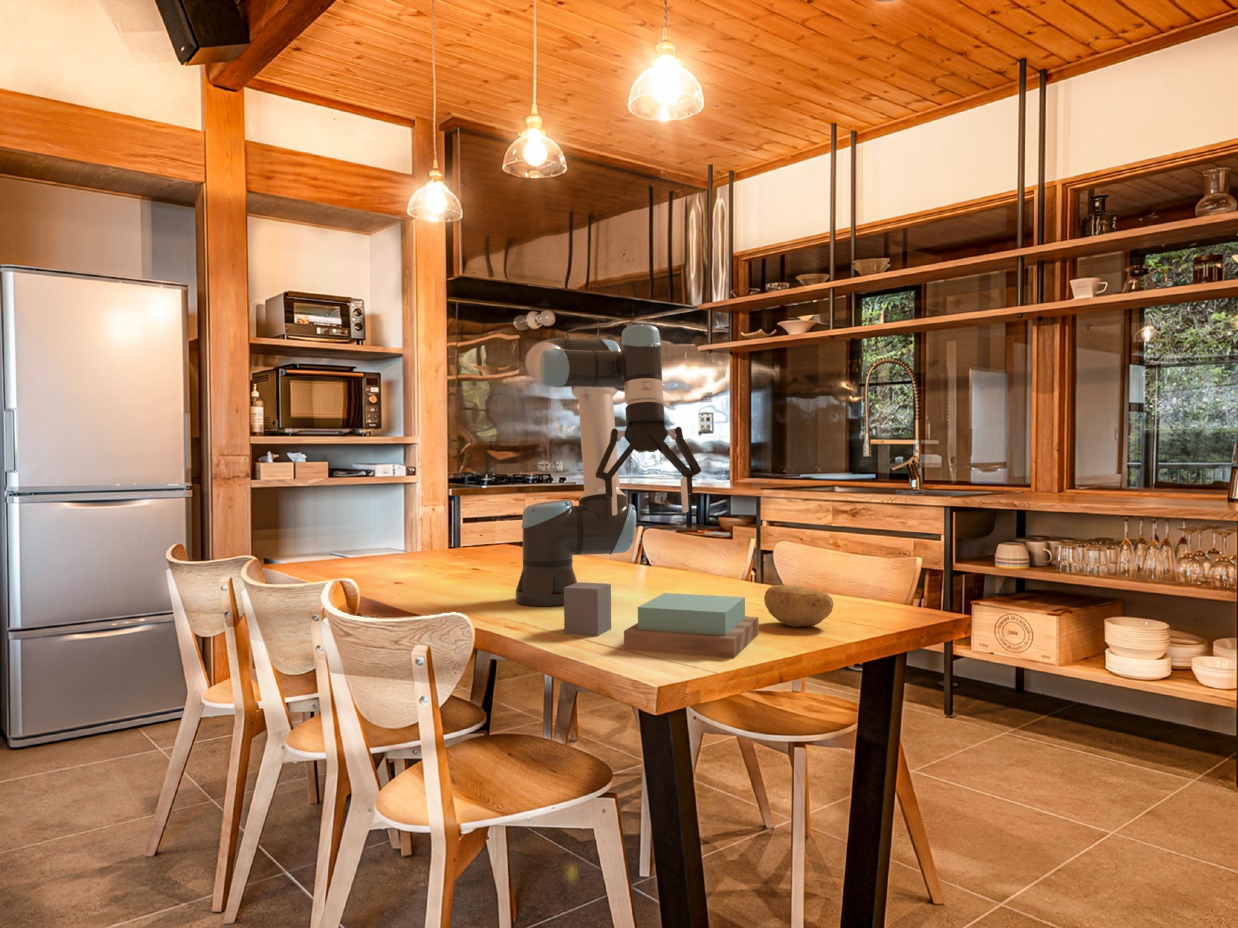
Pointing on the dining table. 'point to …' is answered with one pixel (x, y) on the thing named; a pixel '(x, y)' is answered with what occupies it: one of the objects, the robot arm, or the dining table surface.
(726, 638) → the block bottom
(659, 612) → the block top
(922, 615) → the dining table surface
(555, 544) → the robot arm
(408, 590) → the dining table surface
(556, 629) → the dining table surface
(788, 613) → the potato
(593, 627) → the block
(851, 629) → the dining table surface
